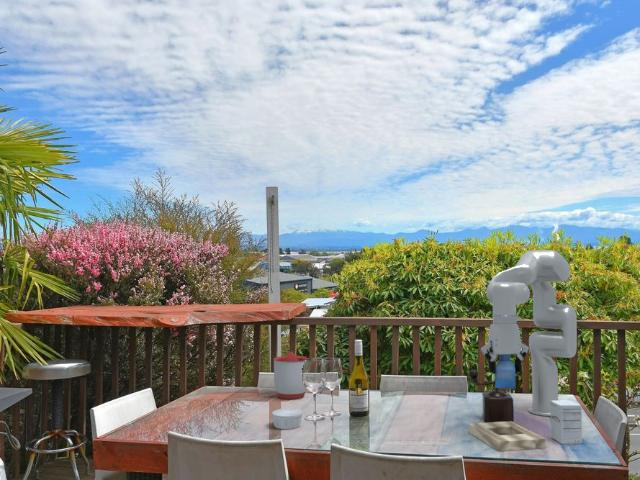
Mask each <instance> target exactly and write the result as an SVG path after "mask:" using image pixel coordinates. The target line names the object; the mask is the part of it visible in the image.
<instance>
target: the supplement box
mask: <svg viewBox="0 0 640 480" xmlns="http://www.w3.org/2000/svg"><path fill="white" fill-rule="evenodd" d="M582 416H583V415H582V405H581V404H580V403H577V402H575V401H573V400H569V399H561V400H559V399H558V400H553V401H551V416H550V434H551V435H550V438H551V439H553V440H554V441H556V442H558V443H560V445H578V444H579V445H580V444H583V431H582V430H583V429H582V426H583V420H582Z"/></svg>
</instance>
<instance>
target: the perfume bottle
mask: <svg viewBox="0 0 640 480" xmlns="http://www.w3.org/2000/svg"><path fill="white" fill-rule="evenodd" d="M499 357H500V358H499V359H498V361H497V362H496V373H495V374H494V375H495V376H494V377H495V380H494V381H495V383H494V384H495V388H499V389H511V390H513V389H514V390H515V389H516V371H515V362H514V361H513V360H512V359H511V355H499Z"/></svg>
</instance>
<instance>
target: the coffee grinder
mask: <svg viewBox="0 0 640 480" xmlns="http://www.w3.org/2000/svg"><path fill="white" fill-rule="evenodd" d="M467 375H468V377H470V379H471V383H473V384H475V385H476V386H487V385H493V384H495V380H493V381H488V382H487V381H486V382H479V381H480V380H479V379H478V377H479V376H478V375H479V372H478V370H476V369H471V370H469V371H468V373H467ZM481 416H482V421H483V423H489V422H507V421H512V422H514V423H515V418H514V417H515V415H514V398H513V397H512V395H511V393H509V392H505V391H503V390H501V389H500V388H496V387H494V389H492V390H490V391H488V392H486V391H485V392H482V415H481Z"/></svg>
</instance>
